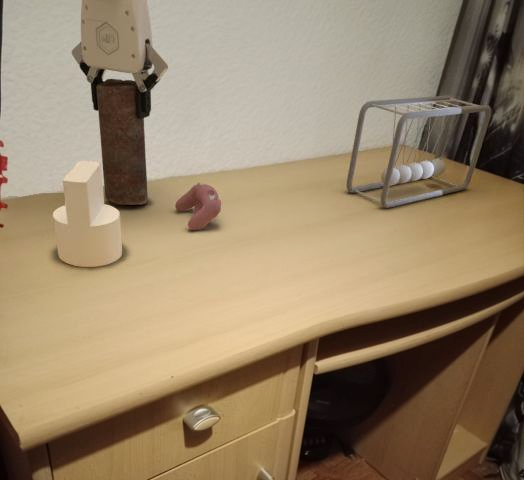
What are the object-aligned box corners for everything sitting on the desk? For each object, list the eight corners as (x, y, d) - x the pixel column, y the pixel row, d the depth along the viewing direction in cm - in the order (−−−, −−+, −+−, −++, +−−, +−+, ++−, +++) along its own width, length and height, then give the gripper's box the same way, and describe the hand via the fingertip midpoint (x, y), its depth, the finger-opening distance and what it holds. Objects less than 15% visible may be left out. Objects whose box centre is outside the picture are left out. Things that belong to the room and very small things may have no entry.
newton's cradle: (431, 175, 129) (453, 94, 119) (468, 189, 122) (495, 105, 112) (343, 193, 112) (360, 101, 102) (381, 210, 106) (403, 113, 96)
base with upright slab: (67, 238, 83) (57, 158, 76) (127, 242, 84) (122, 164, 77) (50, 264, 76) (37, 178, 69) (115, 269, 76) (109, 184, 69)
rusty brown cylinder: (131, 214, 93) (124, 86, 81) (96, 204, 95) (84, 78, 83) (155, 201, 99) (153, 80, 87) (122, 192, 101) (114, 73, 89)
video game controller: (210, 239, 91) (230, 202, 89) (187, 229, 88) (206, 191, 86) (194, 216, 98) (212, 182, 96) (172, 207, 96) (190, 171, 93)
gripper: (46, -26, 77) (61, 108, 87) (156, -12, 73) (158, 126, 83) (78, -25, 83) (88, 101, 93) (181, -11, 79) (180, 118, 89)
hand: (121, 112), depth 88 cm, fingers closed on rusty brown cylinder, 7 cm apart
